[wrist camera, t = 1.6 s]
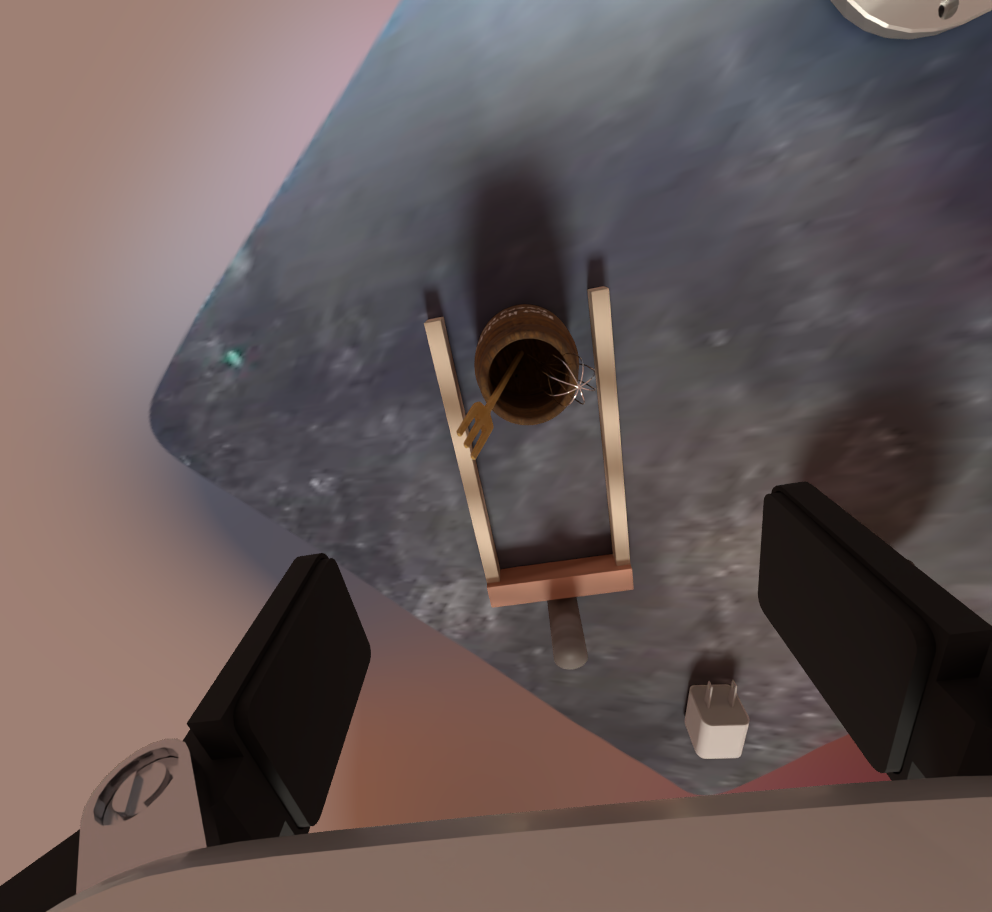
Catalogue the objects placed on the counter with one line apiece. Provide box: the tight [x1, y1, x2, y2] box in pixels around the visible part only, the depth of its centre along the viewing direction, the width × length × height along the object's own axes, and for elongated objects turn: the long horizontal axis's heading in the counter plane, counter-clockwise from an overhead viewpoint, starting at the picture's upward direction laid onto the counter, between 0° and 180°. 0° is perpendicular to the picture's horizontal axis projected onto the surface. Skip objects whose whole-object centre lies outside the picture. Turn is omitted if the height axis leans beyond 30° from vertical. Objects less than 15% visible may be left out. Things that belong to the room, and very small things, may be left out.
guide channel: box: [424, 286, 633, 669], centre depth 31 cm, size 25×11×6 cm, turn 10°
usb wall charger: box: [685, 680, 749, 759], centre depth 41 cm, size 4×7×4 cm, turn 4°
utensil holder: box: [456, 304, 596, 460], centre depth 24 cm, size 6×6×12 cm
